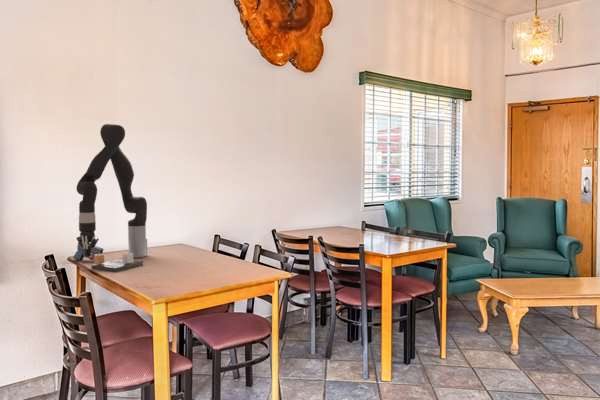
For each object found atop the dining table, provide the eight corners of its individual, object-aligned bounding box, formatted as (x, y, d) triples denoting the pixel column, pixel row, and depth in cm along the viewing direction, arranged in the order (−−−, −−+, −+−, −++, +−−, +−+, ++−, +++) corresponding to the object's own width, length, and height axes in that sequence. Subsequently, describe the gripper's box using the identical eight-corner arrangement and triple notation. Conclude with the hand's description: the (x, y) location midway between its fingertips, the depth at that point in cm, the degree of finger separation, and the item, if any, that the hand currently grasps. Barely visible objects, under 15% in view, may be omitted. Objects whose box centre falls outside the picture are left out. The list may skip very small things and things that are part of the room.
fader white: (128, 261, 241) (128, 252, 241) (133, 262, 240) (133, 253, 240) (123, 262, 238) (123, 253, 238) (127, 263, 237) (127, 254, 236)
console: (119, 262, 252) (119, 258, 251) (143, 265, 245) (143, 261, 245) (91, 268, 235) (91, 264, 235) (115, 272, 228) (115, 267, 228)
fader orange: (99, 262, 239) (99, 253, 238) (104, 263, 237) (104, 253, 237) (93, 263, 235) (93, 254, 235) (98, 264, 234) (98, 255, 234)
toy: (97, 267, 254) (101, 249, 253) (72, 258, 257) (76, 240, 256) (100, 266, 257) (104, 248, 255) (76, 257, 260) (79, 239, 258)
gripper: (103, 221, 239) (103, 256, 239) (83, 220, 244) (84, 254, 245) (90, 222, 232) (91, 258, 233) (71, 221, 237) (71, 256, 238)
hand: (87, 256), depth 239 cm, fingers closed
